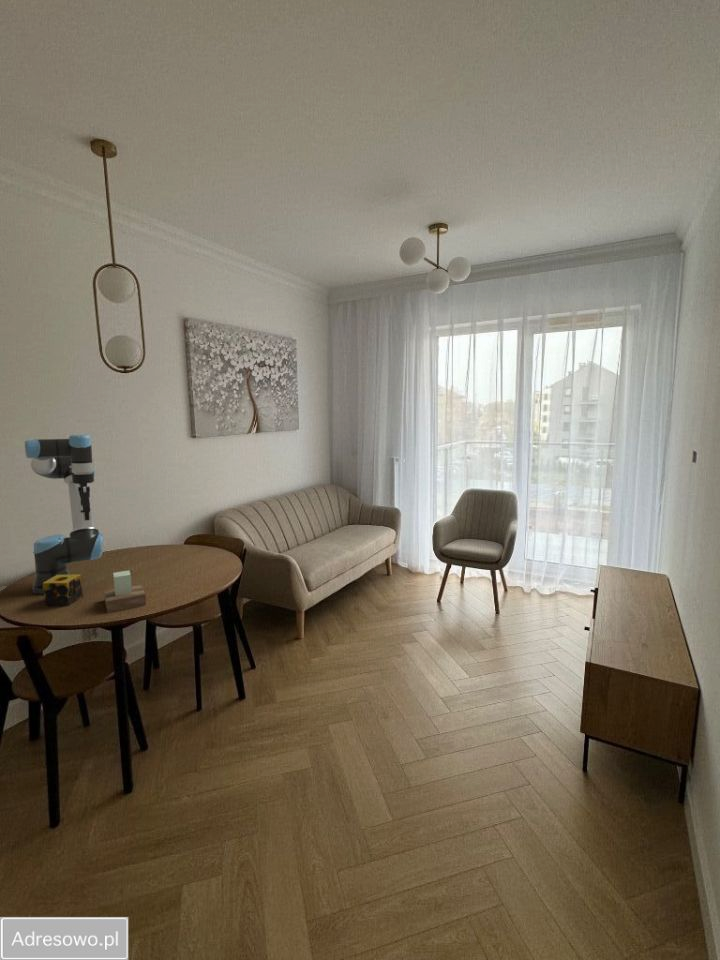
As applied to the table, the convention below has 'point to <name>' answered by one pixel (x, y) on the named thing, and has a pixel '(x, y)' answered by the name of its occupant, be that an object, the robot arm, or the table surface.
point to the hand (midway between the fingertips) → (86, 524)
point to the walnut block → (124, 598)
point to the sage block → (122, 583)
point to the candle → (62, 589)
